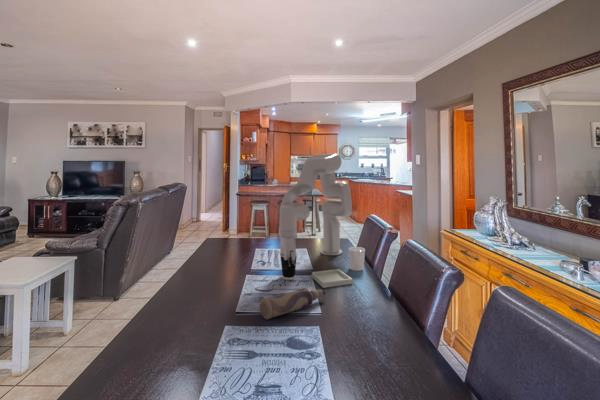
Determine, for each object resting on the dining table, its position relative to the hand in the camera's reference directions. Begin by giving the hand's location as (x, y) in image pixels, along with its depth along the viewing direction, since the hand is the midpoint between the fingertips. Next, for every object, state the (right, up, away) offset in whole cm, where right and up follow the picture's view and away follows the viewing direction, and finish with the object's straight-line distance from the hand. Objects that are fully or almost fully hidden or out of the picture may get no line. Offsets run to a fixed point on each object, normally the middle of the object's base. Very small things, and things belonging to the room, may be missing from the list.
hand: (288, 271), depth 133 cm
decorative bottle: (+4, -6, -31) cm, 32 cm away
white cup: (+33, -2, +12) cm, 35 cm away
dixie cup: (0, -3, 0) cm, 3 cm away
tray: (+19, -3, -3) cm, 19 cm away
